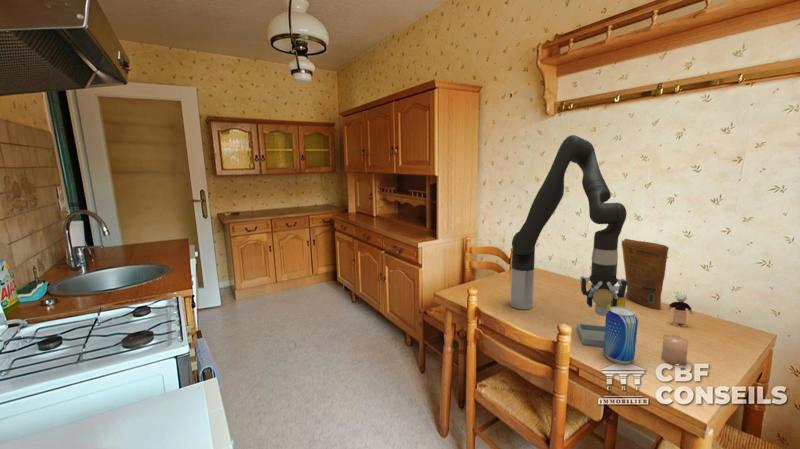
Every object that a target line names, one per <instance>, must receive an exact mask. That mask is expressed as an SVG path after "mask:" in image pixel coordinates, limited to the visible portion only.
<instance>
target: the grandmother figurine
mask: <svg viewBox="0 0 800 449" xmlns="http://www.w3.org/2000/svg"><path fill="white" fill-rule="evenodd" d="M675 299H676V300H677V301H673V302H671V303H669V304H668V307H666V310H667V311H671V309H673V308H674V310H673V317H672V319H673V321H672V323H671V324H672V325H673V326H674V327H675V326H676V327H679V326H681V327H684V328H687V327H688V324H687V311H688V312H689V314H690V315H693V314H694V311H693V309H692V307H691V306H690V305H689V304H688V303H687V302H685V301H686V300H687V299H688V297H687V294H686V293H685V292H678V293H676V295H675Z"/></svg>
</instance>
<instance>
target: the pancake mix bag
mask: <svg viewBox="0 0 800 449" xmlns="http://www.w3.org/2000/svg"><path fill="white" fill-rule="evenodd" d="M621 248H622V256H623V257H622V258H623V264H624V272H625V273H624V275H625V281H626V282H627V285H626V292H625V299H627V300H629V301H631V302H634V303H636V304H639V305H641V306H644V307H646V308H648V309H652V310H662V306H661V301H662V292H663V287H664V281H665V275H666V267H667V260H668V255H669V249H670V248H669V246H667V245H665V244H662V243H661V244H660V243H655V242H648V241H641V240H635V239H630V238H624V239H622V240H621Z"/></svg>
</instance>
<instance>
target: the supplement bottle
mask: <svg viewBox="0 0 800 449" xmlns="http://www.w3.org/2000/svg"><path fill="white" fill-rule="evenodd" d="M613 288H614V290H615V292H616V293H618V291H619V284H618V282H617V283H616V284H615V285H614V286H613ZM625 305H626V294H625V295H624V297H623V298H621V297H620V298H618V299H617V307H624V308H626V307H625ZM607 307H608V308H607V313H608V312H609V311H610V308H611V302H610V304H608V305H607Z"/></svg>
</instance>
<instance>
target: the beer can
mask: <svg viewBox="0 0 800 449" xmlns="http://www.w3.org/2000/svg"><path fill="white" fill-rule="evenodd" d="M635 314H636V313H635V311H634V310H632V309H630V308H629V307H628V308H627V307H611V308H610V311H609V312H608V313H607V314H606V315H605V323H604V324H605V325H604V326H605V334H604V347H602V348H603V350H602V351H603V355H605V357H606V358H607V359H608V360H609V361H612V362H614V363H616V364H620V365H621V364H622V365H626V364H630V363H632V361H634V360H635V354H636V343H637V334H638V324H639V321H638V318H637V315H635Z"/></svg>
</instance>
